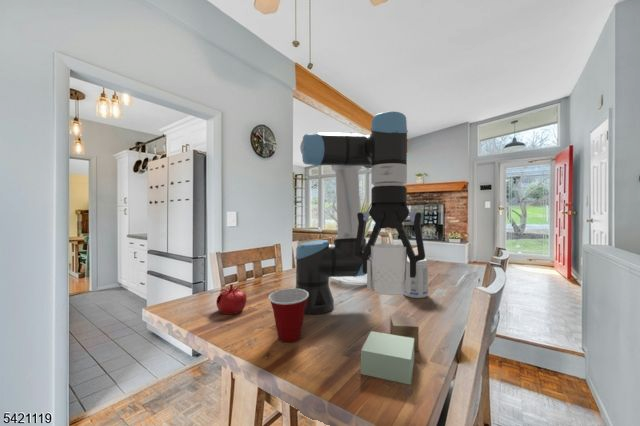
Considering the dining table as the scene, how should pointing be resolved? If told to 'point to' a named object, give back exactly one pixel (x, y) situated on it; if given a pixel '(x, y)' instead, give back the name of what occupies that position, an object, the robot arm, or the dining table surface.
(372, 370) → the base block
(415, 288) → the supplement tub
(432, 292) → the dining table surface
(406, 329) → the walnut cube
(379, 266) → the white cup
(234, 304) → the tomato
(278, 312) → the plastic cup
